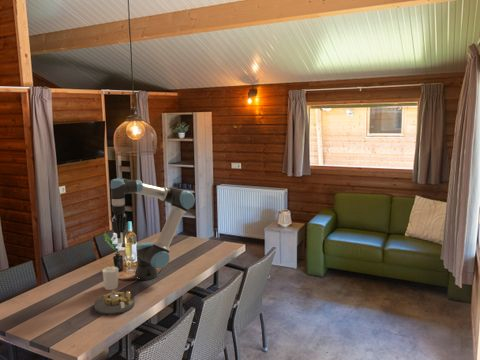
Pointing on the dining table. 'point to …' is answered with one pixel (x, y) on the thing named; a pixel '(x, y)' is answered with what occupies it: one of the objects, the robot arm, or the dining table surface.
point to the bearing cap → (112, 306)
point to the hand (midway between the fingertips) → (120, 242)
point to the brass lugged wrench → (117, 300)
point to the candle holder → (110, 278)
